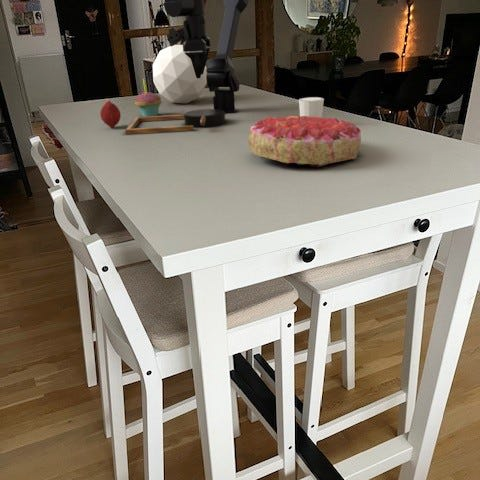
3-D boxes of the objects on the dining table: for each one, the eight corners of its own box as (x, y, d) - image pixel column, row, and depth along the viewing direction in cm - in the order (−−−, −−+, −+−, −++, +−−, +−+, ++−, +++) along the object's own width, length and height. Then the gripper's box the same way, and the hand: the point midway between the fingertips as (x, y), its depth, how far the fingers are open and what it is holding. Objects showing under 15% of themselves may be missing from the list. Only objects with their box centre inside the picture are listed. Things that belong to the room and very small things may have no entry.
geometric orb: (195, 122, 192) (206, 78, 174) (143, 104, 189) (148, 58, 171) (206, 88, 200) (217, 43, 183) (155, 71, 197) (162, 23, 180)
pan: (225, 118, 160) (224, 107, 158) (224, 131, 143) (224, 119, 141) (186, 120, 160) (185, 109, 158) (181, 134, 143) (180, 121, 141)
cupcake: (160, 117, 166) (155, 76, 160) (134, 118, 167) (128, 78, 161) (164, 112, 174) (159, 73, 167) (139, 114, 174) (133, 74, 168)
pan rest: (196, 117, 163) (196, 113, 162) (193, 130, 146) (192, 126, 146) (136, 121, 163) (135, 117, 163) (125, 134, 147) (125, 129, 146)
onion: (126, 127, 156) (121, 98, 152) (110, 130, 152) (105, 101, 148) (115, 125, 159) (110, 97, 155) (99, 128, 156) (94, 100, 152)
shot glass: (307, 129, 140) (307, 101, 137) (293, 125, 146) (293, 98, 142) (328, 125, 143) (329, 98, 139) (313, 122, 148) (314, 95, 144)
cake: (231, 162, 110) (232, 122, 106) (267, 140, 131) (268, 107, 127) (347, 175, 103) (352, 133, 99) (365, 150, 124) (371, 115, 120)
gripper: (171, 16, 154) (177, 73, 162) (161, 18, 138) (168, 81, 146) (208, 14, 153) (212, 72, 162) (202, 15, 137) (207, 79, 146)
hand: (199, 76), depth 154 cm, fingers open, 9 cm apart
